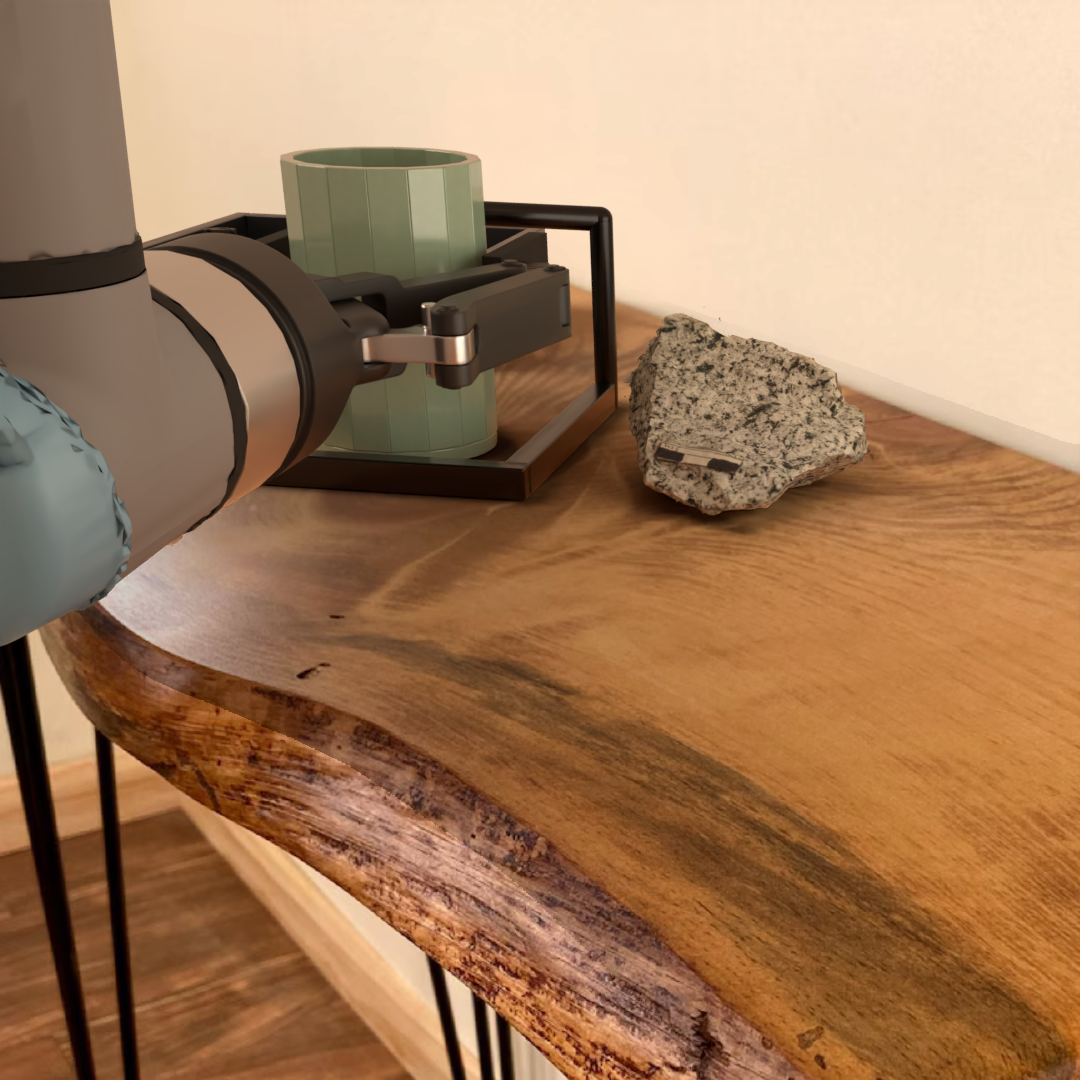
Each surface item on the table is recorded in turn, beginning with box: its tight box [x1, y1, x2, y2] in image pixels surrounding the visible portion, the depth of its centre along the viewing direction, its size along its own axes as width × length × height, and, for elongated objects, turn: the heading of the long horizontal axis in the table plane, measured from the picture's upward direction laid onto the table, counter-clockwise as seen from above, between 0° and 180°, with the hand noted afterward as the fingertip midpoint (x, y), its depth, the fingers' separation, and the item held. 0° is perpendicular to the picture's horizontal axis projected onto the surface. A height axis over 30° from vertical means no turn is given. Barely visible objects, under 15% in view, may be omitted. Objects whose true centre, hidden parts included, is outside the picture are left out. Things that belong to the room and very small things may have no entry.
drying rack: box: [264, 200, 619, 501], centre depth 72 cm, size 14×16×8 cm
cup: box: [279, 146, 499, 459], centre depth 70 cm, size 7×7×11 cm
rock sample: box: [621, 306, 874, 516], centre depth 67 cm, size 10×8×9 cm
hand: (429, 260), depth 74 cm, fingers open, 9 cm apart
